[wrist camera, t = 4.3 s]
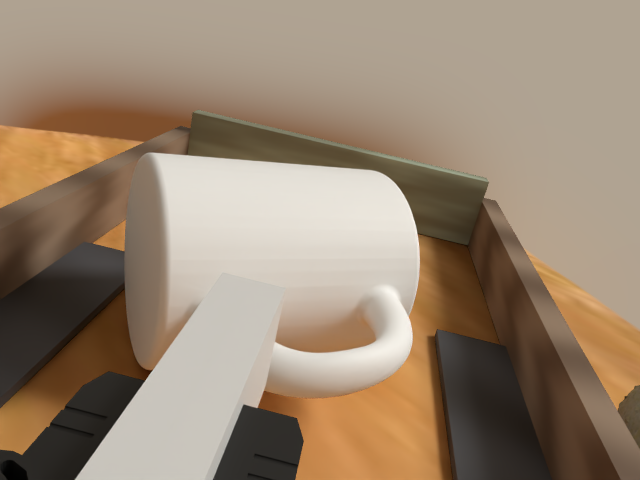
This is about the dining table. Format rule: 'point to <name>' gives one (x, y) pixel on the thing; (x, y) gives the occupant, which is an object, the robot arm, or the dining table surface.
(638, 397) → the sea urchin shell
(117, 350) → the dining table surface
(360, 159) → the wooden tray
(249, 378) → the robot arm
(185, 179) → the mug
